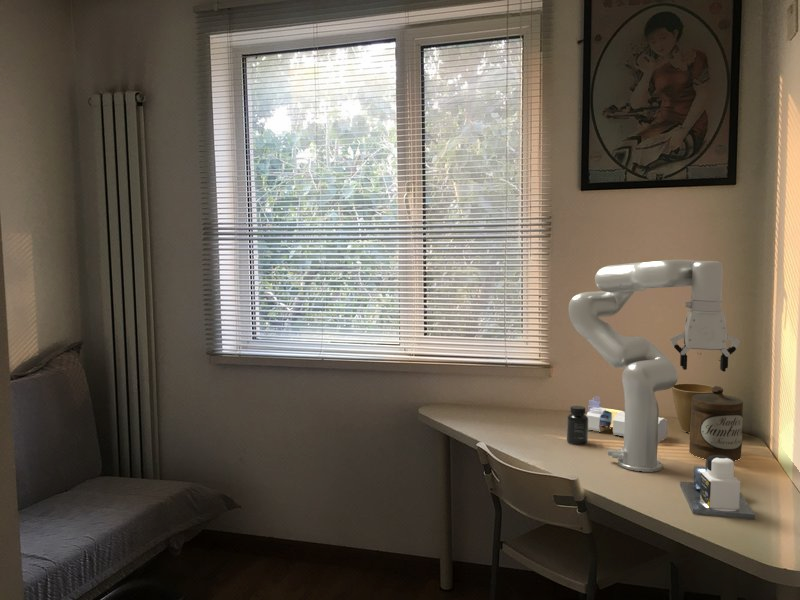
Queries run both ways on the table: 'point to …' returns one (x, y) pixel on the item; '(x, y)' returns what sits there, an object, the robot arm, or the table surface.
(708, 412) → the wooden container
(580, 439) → the supplement bottle
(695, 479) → the motor base
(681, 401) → the plant pot
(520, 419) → the table surface
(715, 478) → the medicine bottle
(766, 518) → the table surface
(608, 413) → the diorama
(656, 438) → the robot arm
